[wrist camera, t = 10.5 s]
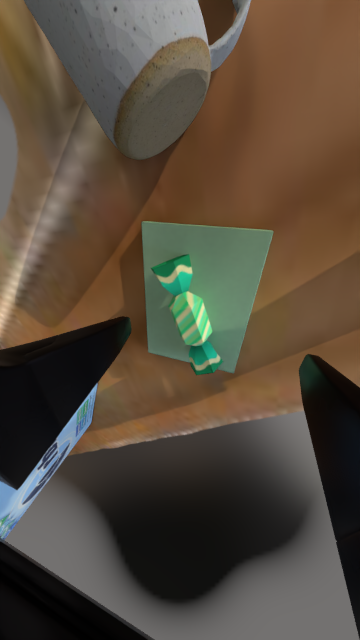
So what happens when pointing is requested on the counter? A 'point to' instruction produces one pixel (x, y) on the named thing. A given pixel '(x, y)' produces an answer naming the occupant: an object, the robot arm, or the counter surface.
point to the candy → (188, 313)
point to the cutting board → (204, 283)
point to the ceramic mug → (137, 63)
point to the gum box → (43, 468)
